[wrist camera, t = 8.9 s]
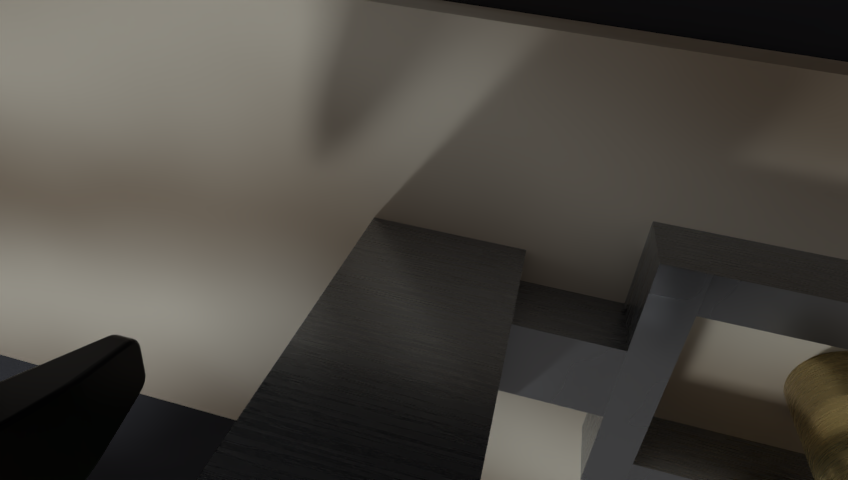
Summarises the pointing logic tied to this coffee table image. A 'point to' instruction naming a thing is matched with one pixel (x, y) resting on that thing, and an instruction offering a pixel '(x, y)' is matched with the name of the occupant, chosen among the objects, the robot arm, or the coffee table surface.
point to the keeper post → (821, 412)
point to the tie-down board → (392, 181)
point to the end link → (518, 359)
